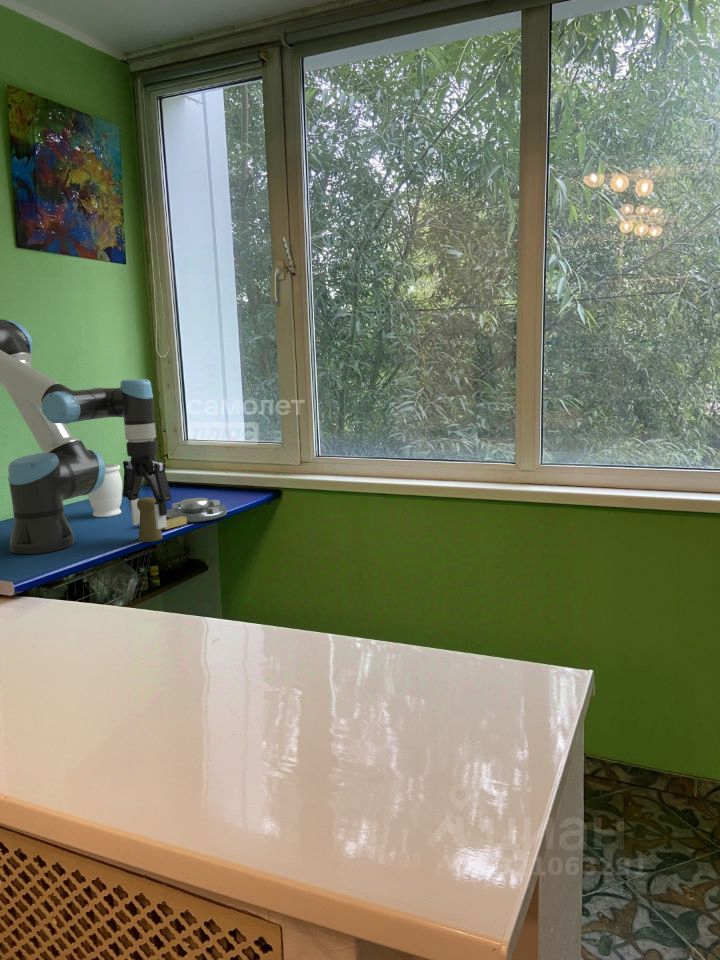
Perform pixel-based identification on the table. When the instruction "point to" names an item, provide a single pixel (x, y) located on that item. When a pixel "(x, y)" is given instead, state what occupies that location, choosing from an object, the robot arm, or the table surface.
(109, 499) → the jar
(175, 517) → the grey disc with block
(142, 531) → the cork
